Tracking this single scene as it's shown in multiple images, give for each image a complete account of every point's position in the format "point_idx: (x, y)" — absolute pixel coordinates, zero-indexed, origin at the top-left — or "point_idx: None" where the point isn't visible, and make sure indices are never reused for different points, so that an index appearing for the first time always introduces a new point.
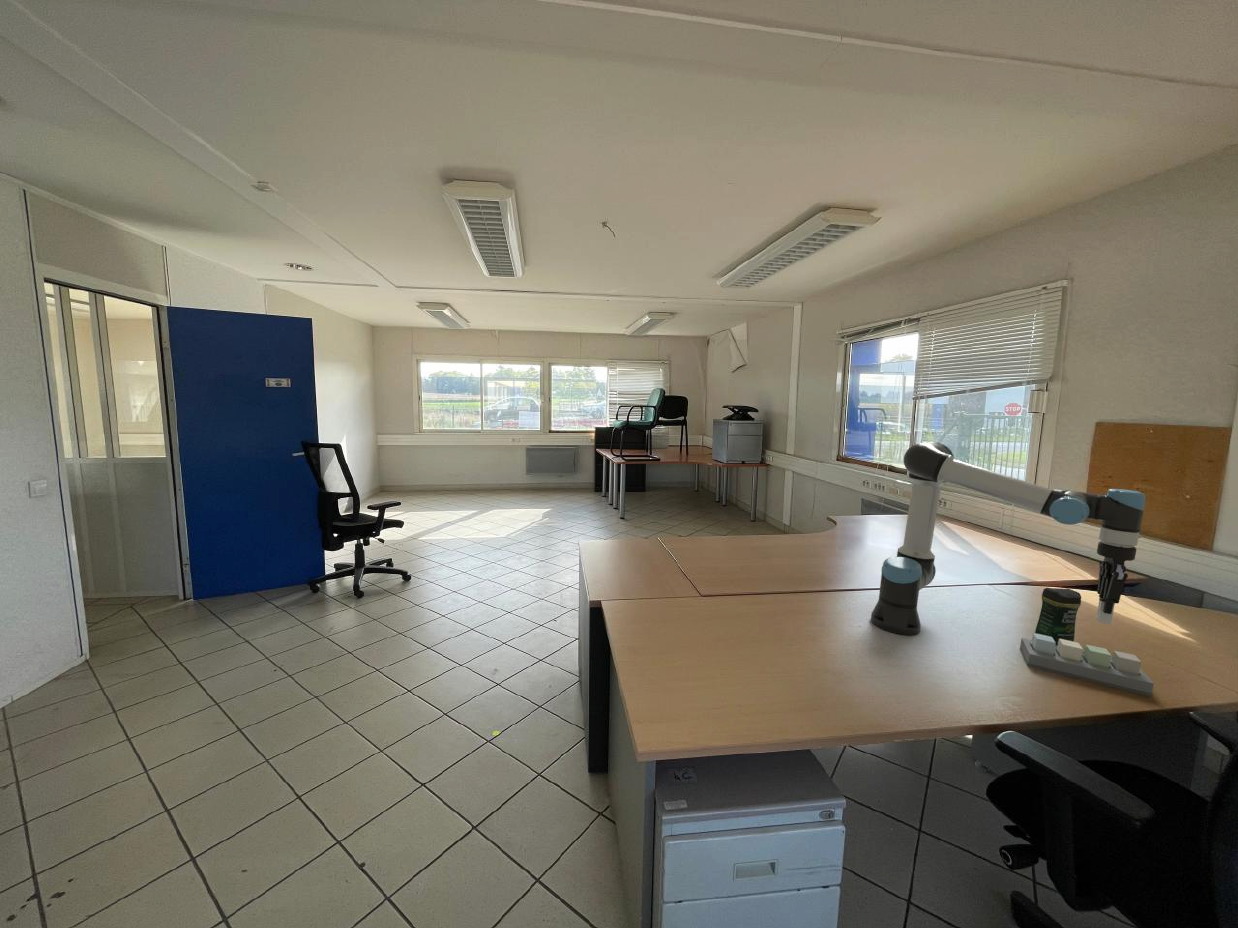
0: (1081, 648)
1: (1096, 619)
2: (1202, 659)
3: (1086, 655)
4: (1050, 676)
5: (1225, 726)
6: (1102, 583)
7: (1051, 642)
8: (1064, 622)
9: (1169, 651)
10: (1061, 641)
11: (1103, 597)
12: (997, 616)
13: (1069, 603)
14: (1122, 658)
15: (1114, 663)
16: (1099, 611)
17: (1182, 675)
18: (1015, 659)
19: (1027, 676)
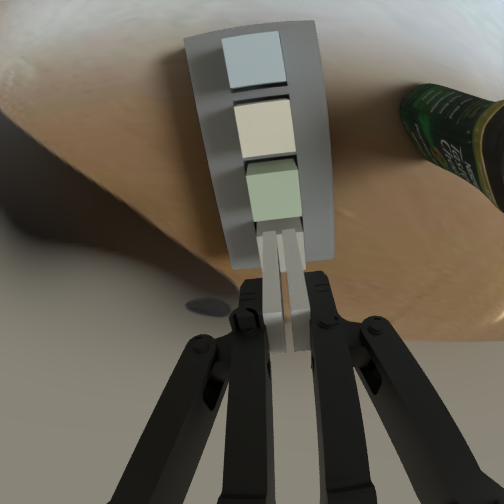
0: (243, 154)
1: (285, 231)
2: (450, 325)
3: (270, 164)
4: (171, 89)
5: (206, 313)
6: (339, 415)
7: (229, 77)
8: (442, 145)
9: (464, 299)
10: (263, 104)
11: (255, 338)
12: (490, 43)
13: (488, 174)
14: (257, 242)
15: (278, 219)
16: (267, 263)
17: (383, 303)
18: (216, 19)
19: (129, 55)
